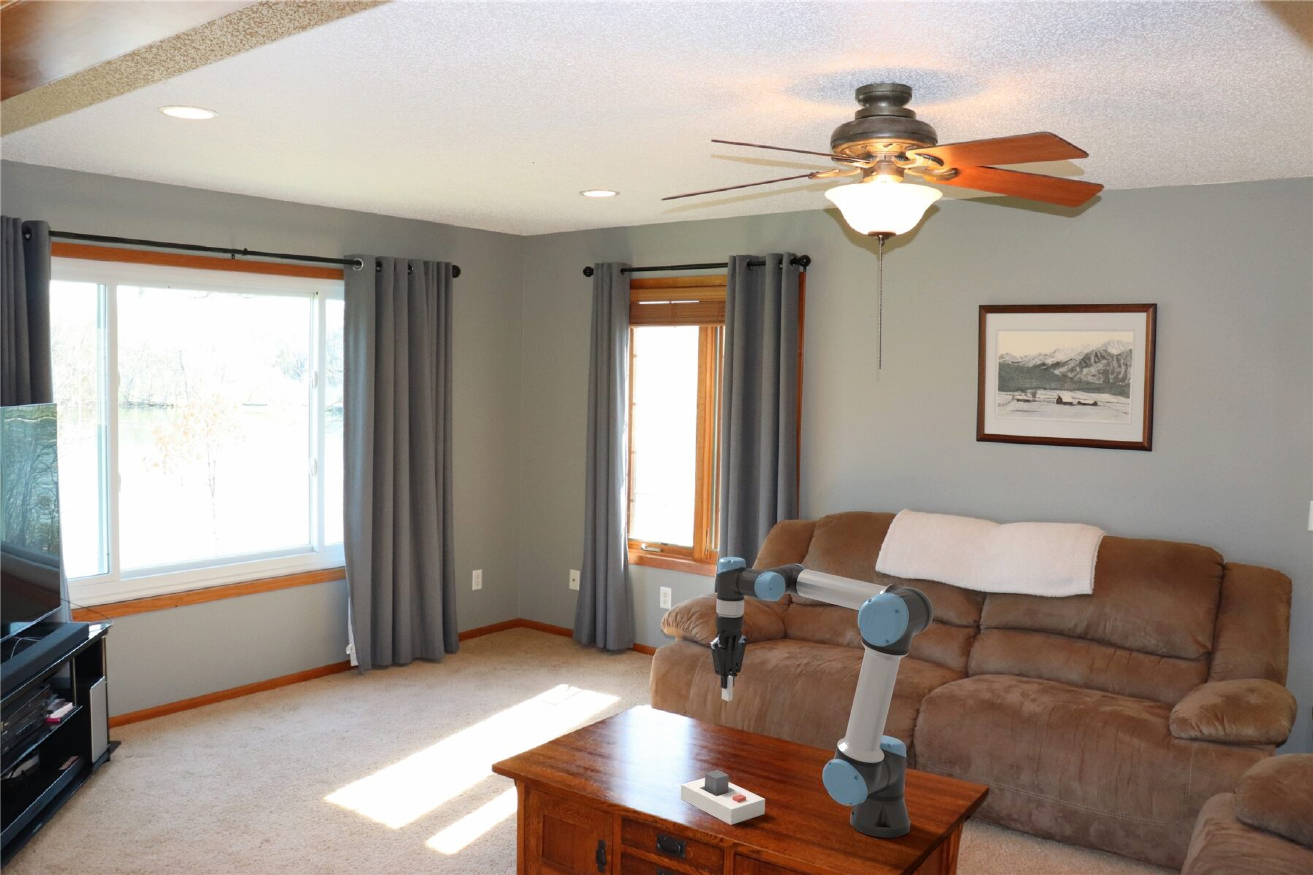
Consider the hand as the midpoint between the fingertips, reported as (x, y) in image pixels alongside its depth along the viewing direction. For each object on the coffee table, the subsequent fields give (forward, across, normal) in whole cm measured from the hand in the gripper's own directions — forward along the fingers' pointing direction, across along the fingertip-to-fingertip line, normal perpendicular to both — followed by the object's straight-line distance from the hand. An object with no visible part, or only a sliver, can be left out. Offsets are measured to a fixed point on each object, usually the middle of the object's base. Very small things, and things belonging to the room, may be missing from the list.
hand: (726, 699), depth 285 cm
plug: (+27, +6, +4) cm, 27 cm away
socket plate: (+26, +6, +6) cm, 28 cm away
